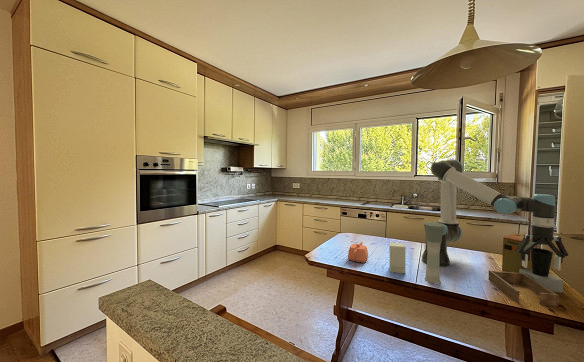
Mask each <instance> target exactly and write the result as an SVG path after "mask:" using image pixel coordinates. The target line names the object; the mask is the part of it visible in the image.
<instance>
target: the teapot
mask: <svg viewBox="0 0 584 362" xmlns="http://www.w3.org/2000/svg"><path fill="white" fill-rule="evenodd" d="M347 258H348V260H349V261H352V262H355V261H356V263H360V262H361V263H362V264H364V263H366V262H367V260H368V258H369V252H368V247H367V246H366V245H363V241H360V243H353V244H351V245H350V246H349V248H348V251H347Z"/></svg>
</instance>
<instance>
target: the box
mask: <svg viewBox="0 0 584 362" xmlns="http://www.w3.org/2000/svg"><path fill="white" fill-rule="evenodd" d="M502 238H503V241H502V242H503V243H502V261H501V262H502V263H501V271H503V272H514V273H519V269H530V270H532V261H531V250H530V251H529V252H528V253H527V255H528V264H527V268H525V267H523V266H522V260H521V259H520V253H519V252H517V251H516V249H517V247H518V246H519V244H520V243H521V241H522V240H523V238H524V234H522V233H513V234H511V235H506V236H503V237H502ZM531 240H532V238H531V239H530V240H529V242H528V244H529V243H530V241H531ZM528 244H527V245H528ZM533 248H538V245H536V246H534V247H533Z"/></svg>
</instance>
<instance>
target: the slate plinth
mask: <svg viewBox="0 0 584 362" xmlns="http://www.w3.org/2000/svg"><path fill="white" fill-rule="evenodd" d="M519 273H523V274H525V275H527V276H528V277H530V278H532V279H533V280H535V281H536V282H538V283H540V284H541V285H543V286H545V287H546V288H548V289H550V290H551V291H553V292H554V293H560V294H561V293H562V294H563V293H564V291H563V290H564V280H563V279H562V278H560V277H558V276H556V275H554V274H552V273H550V272H549V275H548V277H544V276H539V275H535V274H533V273H532V270H530V269H519Z"/></svg>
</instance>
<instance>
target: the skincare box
mask: <svg viewBox="0 0 584 362" xmlns="http://www.w3.org/2000/svg"><path fill="white" fill-rule="evenodd" d="M388 249H389V273H393V272H396V273H395V274H402V273H404V275H405V274H406V250H407V249H406V244H405V243H400V242H397V243H396V242H389V248H388Z"/></svg>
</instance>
